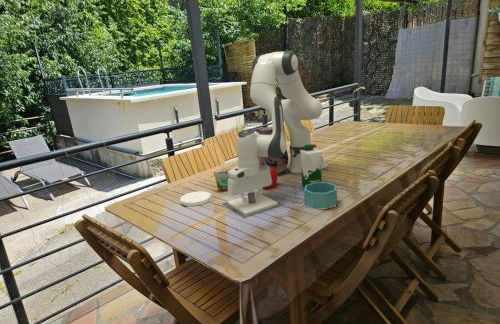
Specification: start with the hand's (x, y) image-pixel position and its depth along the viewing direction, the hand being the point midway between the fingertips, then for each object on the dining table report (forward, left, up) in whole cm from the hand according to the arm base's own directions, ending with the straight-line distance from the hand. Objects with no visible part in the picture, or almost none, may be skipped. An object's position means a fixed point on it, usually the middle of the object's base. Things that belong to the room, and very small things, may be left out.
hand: (251, 199), depth 148 cm
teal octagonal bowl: (-23, +18, -3) cm, 29 cm away
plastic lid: (+17, -22, -3) cm, 28 cm away
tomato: (-18, -15, -3) cm, 24 cm away
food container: (-1, -24, -3) cm, 24 cm away
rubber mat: (0, 0, -3) cm, 3 cm away
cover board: (0, 0, -2) cm, 2 cm away
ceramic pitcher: (-32, -33, -3) cm, 46 cm away
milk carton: (-33, +1, -3) cm, 33 cm away
